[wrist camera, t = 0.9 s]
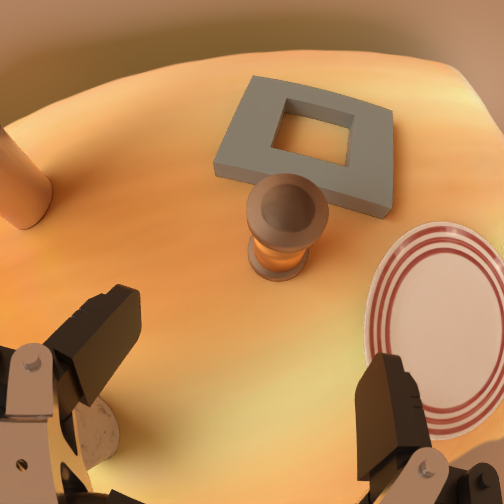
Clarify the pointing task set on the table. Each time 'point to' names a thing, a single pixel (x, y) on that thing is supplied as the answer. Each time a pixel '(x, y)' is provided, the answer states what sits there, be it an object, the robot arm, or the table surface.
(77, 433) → the robot arm
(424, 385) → the dinner plate
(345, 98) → the grey rectangular frame
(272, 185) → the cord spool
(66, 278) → the table surface
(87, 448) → the speckled tan cylinder
